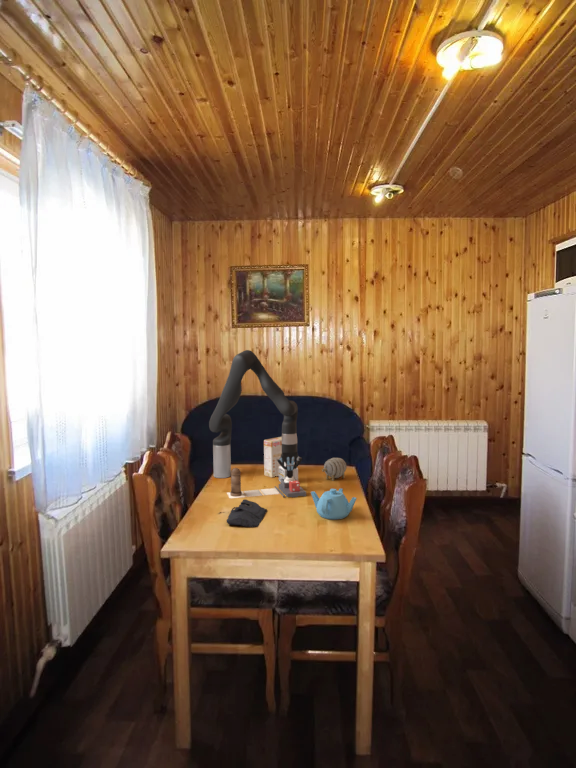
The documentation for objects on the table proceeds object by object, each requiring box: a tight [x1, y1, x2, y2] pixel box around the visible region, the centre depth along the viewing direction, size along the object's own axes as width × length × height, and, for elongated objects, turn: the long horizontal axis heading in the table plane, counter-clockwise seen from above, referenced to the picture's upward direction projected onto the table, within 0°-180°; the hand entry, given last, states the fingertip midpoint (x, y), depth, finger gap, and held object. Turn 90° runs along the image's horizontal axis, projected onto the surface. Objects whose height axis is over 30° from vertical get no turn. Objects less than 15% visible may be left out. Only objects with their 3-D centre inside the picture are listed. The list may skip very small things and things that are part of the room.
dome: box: [284, 477, 295, 483], centre depth 235 cm, size 6×6×4 cm
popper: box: [278, 478, 307, 498], centre depth 231 cm, size 16×9×6 cm, turn 16°
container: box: [278, 459, 299, 483], centre depth 248 cm, size 8×8×13 cm
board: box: [226, 486, 285, 499], centre depth 226 cm, size 16×26×1 cm, turn 106°
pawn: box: [230, 467, 243, 497], centre depth 224 cm, size 5×5×13 cm
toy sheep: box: [321, 457, 348, 482], centre depth 253 cm, size 11×17×11 cm, turn 133°
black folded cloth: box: [226, 499, 268, 528], centre depth 198 cm, size 15×22×5 cm
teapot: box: [310, 488, 357, 520], centre depth 201 cm, size 15×15×11 cm
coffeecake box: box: [263, 436, 282, 478], centre depth 263 cm, size 15×7×20 cm, turn 130°
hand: (289, 477), depth 235 cm, fingers closed
